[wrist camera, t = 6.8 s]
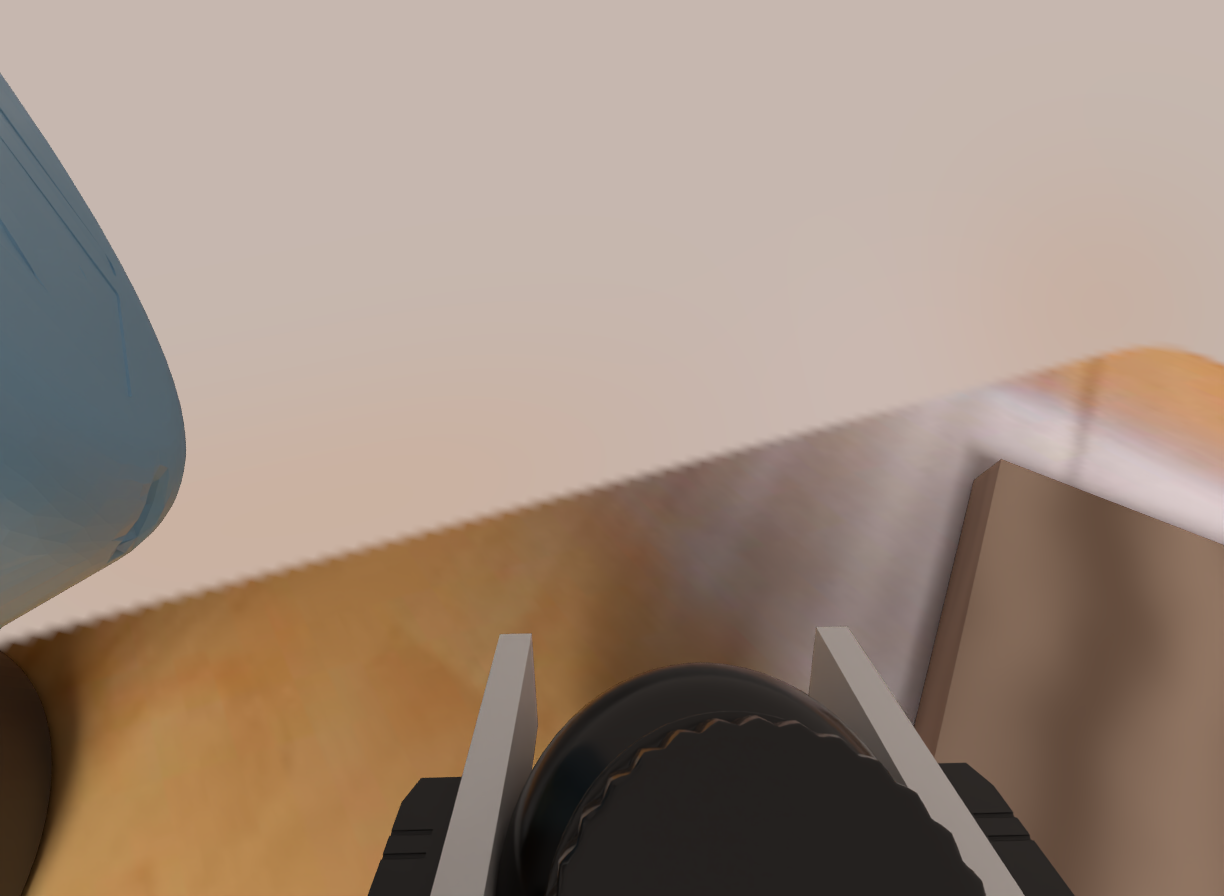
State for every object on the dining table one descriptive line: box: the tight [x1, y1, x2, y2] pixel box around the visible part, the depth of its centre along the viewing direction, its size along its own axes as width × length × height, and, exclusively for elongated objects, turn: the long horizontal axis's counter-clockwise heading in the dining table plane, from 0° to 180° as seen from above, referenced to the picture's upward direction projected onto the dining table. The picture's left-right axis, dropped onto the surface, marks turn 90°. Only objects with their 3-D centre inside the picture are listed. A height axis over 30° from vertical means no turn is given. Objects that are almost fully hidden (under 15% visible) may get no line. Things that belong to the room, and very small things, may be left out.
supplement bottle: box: [495, 663, 986, 896], centre depth 11 cm, size 7×7×12 cm
